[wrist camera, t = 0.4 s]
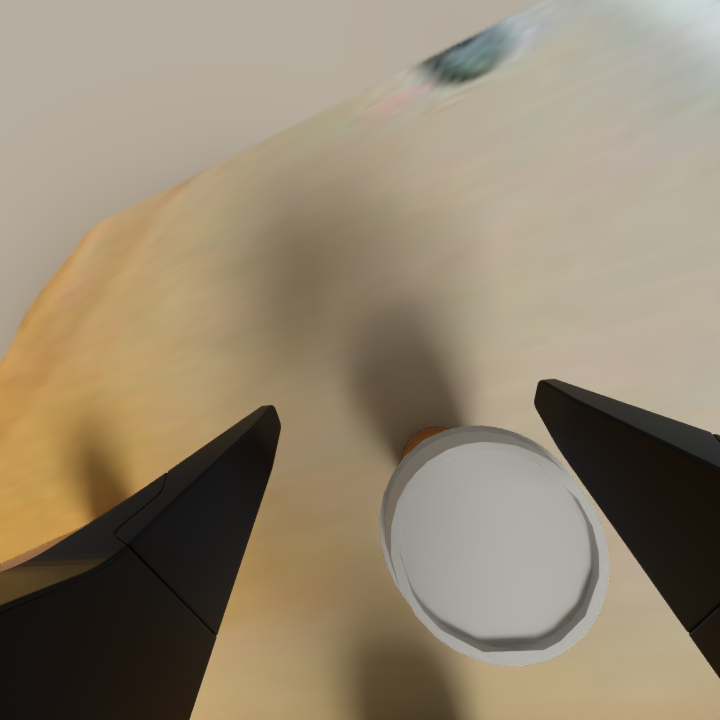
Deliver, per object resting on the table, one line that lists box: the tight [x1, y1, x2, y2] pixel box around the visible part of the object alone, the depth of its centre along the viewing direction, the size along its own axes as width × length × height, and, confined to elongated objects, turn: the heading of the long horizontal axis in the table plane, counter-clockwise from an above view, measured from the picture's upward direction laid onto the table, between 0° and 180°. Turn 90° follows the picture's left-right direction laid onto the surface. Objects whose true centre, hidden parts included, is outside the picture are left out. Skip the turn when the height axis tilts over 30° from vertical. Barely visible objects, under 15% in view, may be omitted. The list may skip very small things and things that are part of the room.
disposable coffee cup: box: [380, 426, 610, 666], centre depth 17 cm, size 10×10×12 cm
